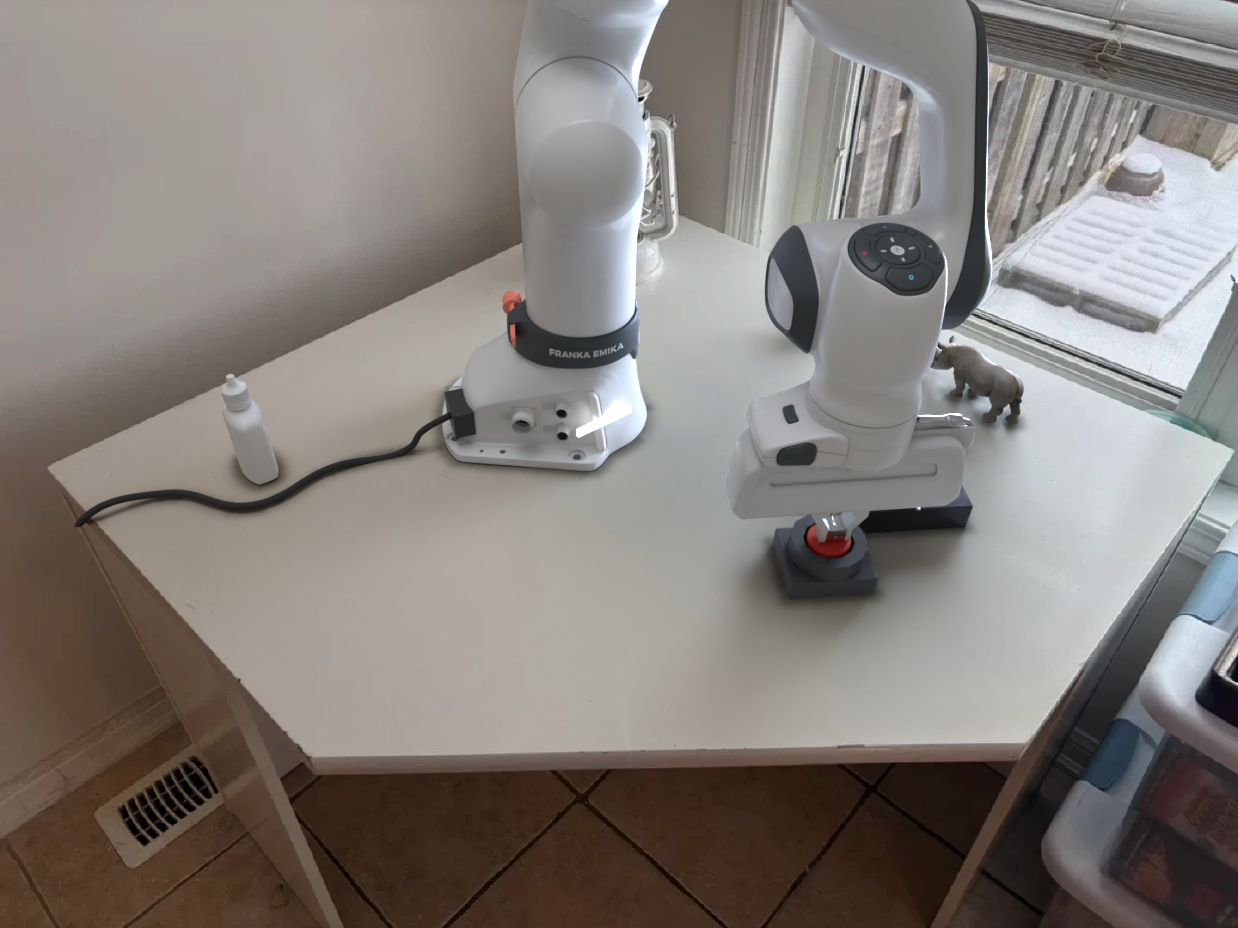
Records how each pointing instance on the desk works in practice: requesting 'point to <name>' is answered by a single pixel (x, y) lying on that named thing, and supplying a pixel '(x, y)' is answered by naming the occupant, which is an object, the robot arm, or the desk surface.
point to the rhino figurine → (981, 379)
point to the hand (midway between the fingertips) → (831, 536)
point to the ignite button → (826, 546)
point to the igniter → (822, 565)
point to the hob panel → (920, 517)
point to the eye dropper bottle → (248, 432)
